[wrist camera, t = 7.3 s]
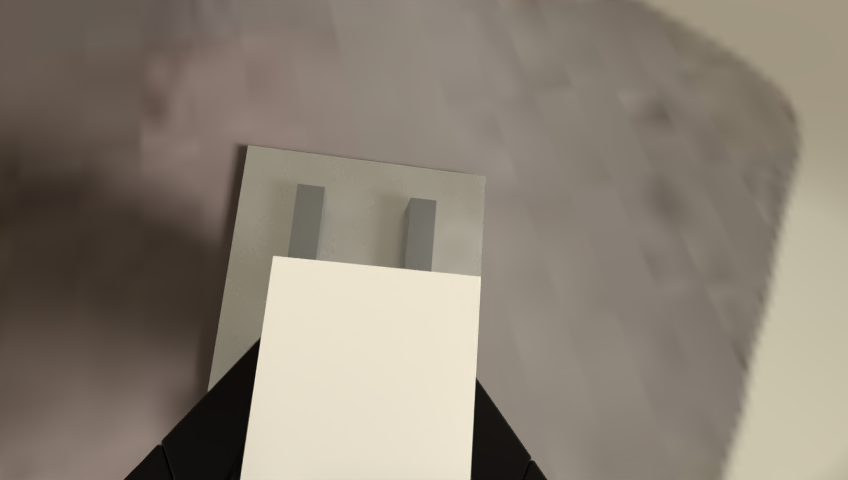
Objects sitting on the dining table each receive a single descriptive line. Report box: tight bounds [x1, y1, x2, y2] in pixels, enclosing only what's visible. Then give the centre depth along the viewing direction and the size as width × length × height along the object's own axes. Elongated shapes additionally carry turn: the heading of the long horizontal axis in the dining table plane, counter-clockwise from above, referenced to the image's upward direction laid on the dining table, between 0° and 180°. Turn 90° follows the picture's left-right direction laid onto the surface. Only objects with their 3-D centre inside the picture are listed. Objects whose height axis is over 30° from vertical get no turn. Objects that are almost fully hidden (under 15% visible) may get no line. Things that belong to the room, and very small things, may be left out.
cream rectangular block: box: [240, 256, 481, 480], centre depth 10 cm, size 4×2×10 cm, turn 175°
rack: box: [208, 145, 486, 392], centre depth 21 cm, size 19×12×3 cm, turn 175°
